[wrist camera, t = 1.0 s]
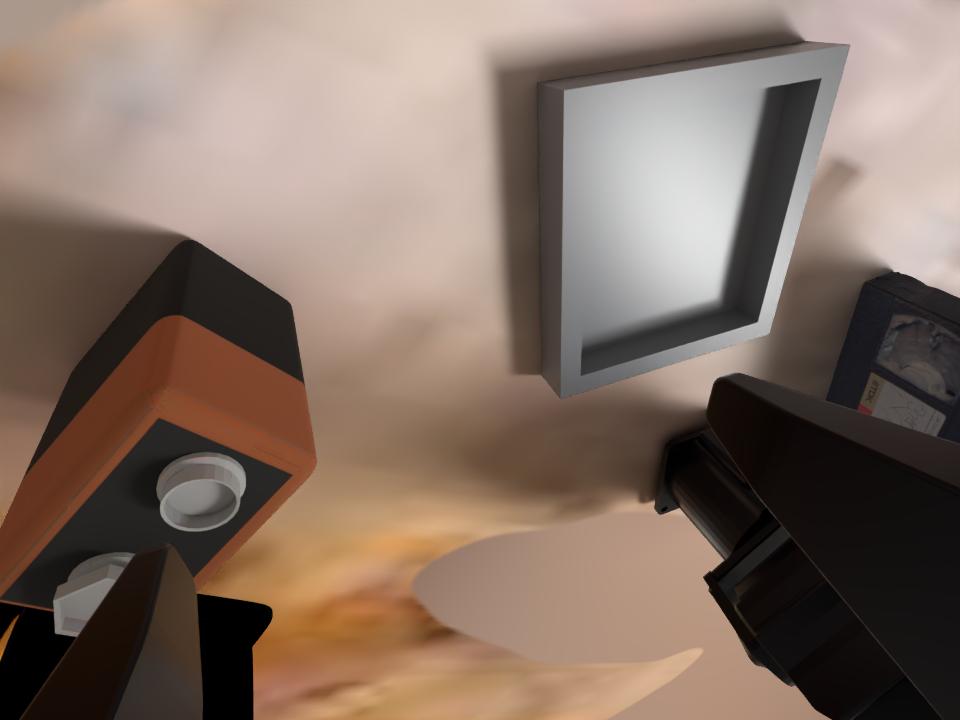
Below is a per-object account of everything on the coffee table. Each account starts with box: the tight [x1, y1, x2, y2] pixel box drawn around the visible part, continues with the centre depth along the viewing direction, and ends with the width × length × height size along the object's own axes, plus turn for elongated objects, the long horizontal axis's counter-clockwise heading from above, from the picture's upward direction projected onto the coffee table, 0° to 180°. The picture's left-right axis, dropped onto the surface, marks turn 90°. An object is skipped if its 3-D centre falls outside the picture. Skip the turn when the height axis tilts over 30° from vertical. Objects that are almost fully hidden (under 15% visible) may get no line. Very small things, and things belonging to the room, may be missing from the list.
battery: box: [0, 240, 317, 637], centre depth 15 cm, size 4×7×10 cm, turn 132°
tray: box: [537, 41, 850, 399], centre depth 23 cm, size 13×12×2 cm
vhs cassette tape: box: [826, 272, 960, 444], centre depth 33 cm, size 18×3×10 cm, turn 8°
